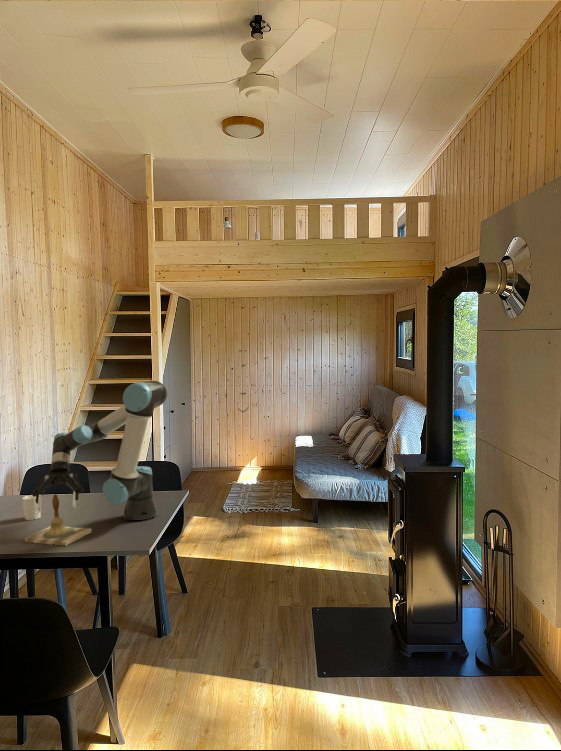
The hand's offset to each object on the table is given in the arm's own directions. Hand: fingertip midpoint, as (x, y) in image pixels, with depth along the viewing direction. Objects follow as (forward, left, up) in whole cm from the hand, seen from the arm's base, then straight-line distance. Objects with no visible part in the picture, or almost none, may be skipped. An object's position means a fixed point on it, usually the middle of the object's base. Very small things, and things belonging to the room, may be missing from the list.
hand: (56, 508), depth 225 cm
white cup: (+29, -18, -12) cm, 36 cm away
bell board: (-1, +1, -12) cm, 12 cm away
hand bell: (-1, +1, -10) cm, 10 cm away
